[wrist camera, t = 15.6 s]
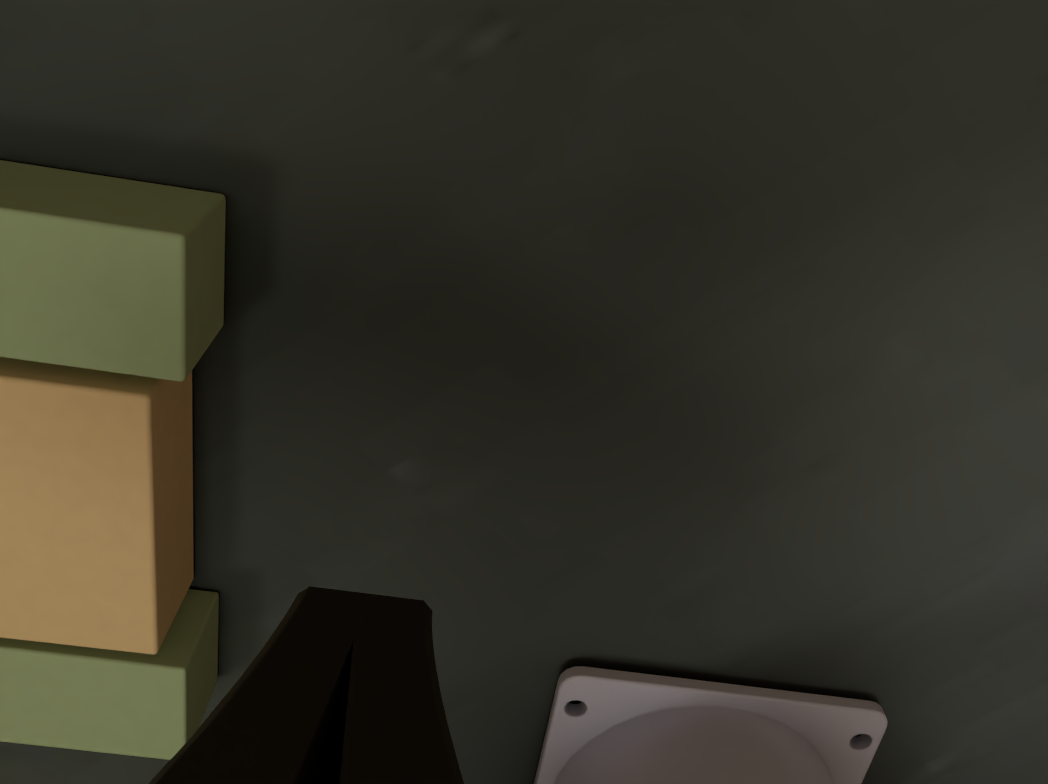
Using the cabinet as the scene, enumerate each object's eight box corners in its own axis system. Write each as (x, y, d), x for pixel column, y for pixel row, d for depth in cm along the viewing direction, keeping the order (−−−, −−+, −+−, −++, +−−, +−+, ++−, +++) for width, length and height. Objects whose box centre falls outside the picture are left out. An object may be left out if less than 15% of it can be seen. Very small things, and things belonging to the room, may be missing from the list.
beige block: (195, 579, 22) (157, 657, 19) (-34, 552, 21) (-99, 628, 19) (193, 338, 19) (149, 396, 17) (-68, 302, 19) (-149, 357, 16)
